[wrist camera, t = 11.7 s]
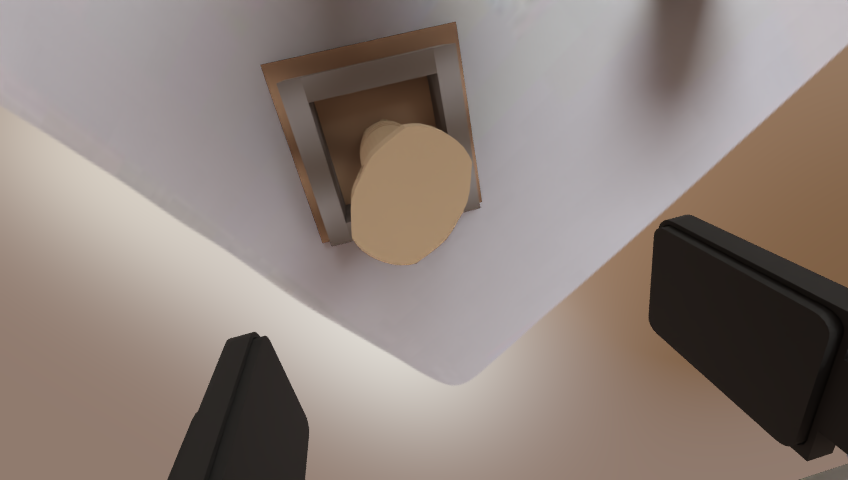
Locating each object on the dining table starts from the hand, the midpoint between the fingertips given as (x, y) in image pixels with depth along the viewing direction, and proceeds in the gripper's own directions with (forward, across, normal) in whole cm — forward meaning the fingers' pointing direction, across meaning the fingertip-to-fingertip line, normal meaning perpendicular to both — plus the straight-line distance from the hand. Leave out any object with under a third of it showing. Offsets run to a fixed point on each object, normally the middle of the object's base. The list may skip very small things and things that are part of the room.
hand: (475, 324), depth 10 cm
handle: (+24, 0, 0) cm, 24 cm away
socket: (+25, 0, 0) cm, 25 cm away
